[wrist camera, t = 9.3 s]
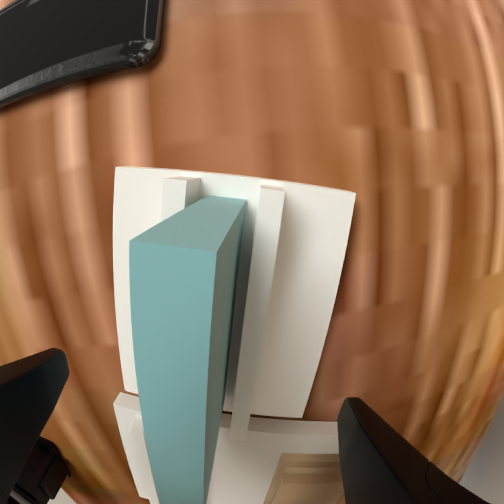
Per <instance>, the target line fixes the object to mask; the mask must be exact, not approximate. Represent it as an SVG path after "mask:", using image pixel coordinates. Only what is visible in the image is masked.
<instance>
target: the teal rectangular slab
mask: <svg viewBox="0 0 504 504" xmlns="http://www.w3.org/2000/svg"><path fill="white" fill-rule="evenodd" d="M245 207H246V199H238V198H230V197H221V196H211V195H208V196H206V197H204V198H203V199H201V200H199V201H197V202H195V203H194V204H192V205H190V206H188V207H186V208H185V209H183V210H181V211H179V212H177V213H176V214H174V215H172V216H170V217H169V218H167V219H165V220H163V221H162V222H160V223H158V224H156V225H155V226H153V227H151V228H150V229H148V230H146V231H145V232H143V233H141V234H140V235H138V236H136V237H135V238H133V239H131V240H130V241H129V280H130V307H131V325H132V339H133V351H134V361H135V371H136V379H137V387H138V395H139V402H140V409H141V416H142V422H143V428H144V433H145V439H146V444H147V450H148V455H149V459H150V464H151V469H152V473H153V478H154V482H155V486H156V490H157V494H158V498H159V502H160V504H206V503H207V497H208V491H209V485H210V480H211V474H212V468H213V463H214V457H215V451H216V445H217V440H218V434H219V428H220V423H221V417H222V411H223V405H224V400H225V392H226V382H227V372H228V362H229V353H230V343H231V333H232V324H233V315H234V305H235V296H236V287H237V278H238V269H239V260H240V251H241V242H242V233H243V224H244V216H245Z"/></svg>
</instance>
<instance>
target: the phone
mask: <svg viewBox="0 0 504 504" xmlns="http://www.w3.org/2000/svg"><path fill="white" fill-rule="evenodd" d="M164 2H165V0H16V1H14V2H12V3H11V4H9V5H7V6H6V7H4V8H3V9H1V10H0V108H2V107H4V106H6V105H9V104H11V103H14V102H16V101H19V100H21V99H24V98H26V97H29V96H32V95H35V94H37V93H40V92H43V91H46V90H49V89H52V88H55V87H58V86H62V85H65V84H68V83H72V82H75V81H79V80H82V79H86V78H90V77H94V76H98V75H102V74H106V73H111V72H115V71H120V70H125V69H130V68H135V67H139V66H142V65H144V64H146V63H147V62H149V61H150V60H151V59H152V58H153V57H154V56H155V55H156V53H157V51H158V50H159V47H160V43H161V32H162V21H163V11H164Z"/></svg>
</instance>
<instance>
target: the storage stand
mask: <svg viewBox="0 0 504 504" xmlns="http://www.w3.org/2000/svg"><path fill="white" fill-rule="evenodd" d="M208 195H211V196H221V197H230V198H238V199H246V207H245V216H244V224H243V233H242V242H241V251H240V260H239V269H238V278H237V287H236V296H235V305H234V315H233V324H232V333H231V343H230V353H229V362H228V372H227V382H226V392H225V400H224V405H223V411H230V412H232V419H231V427H230V435H229V439H234V440H242V441H246V435H247V430H248V424H249V419H250V414H256V415H266V416H278V417H293V418H302V416H303V413H304V410H305V407H306V404H307V401H308V397H309V394H310V391H311V388H312V384H313V381H314V378H315V374H316V371H317V367H318V364H319V360H320V357H321V353H322V350H323V346H324V342H325V338H326V335H327V331H328V327H329V323H330V319H331V315H332V311H333V307H334V302H335V298H336V294H337V290H338V285H339V281H340V276H341V271H342V267H343V262H344V257H345V252H346V247H347V242H348V237H349V231H350V226H351V220H352V214H353V208H354V202H355V196H356V193H354V192H351V191H347V190H341V189H335V188H329V187H323V186H317V185H310V184H304V183H297V182H290V181H283V180H275V179H268V178H260V177H251V176H243V175H234V174H224V173H214V172H203V171H192V170H179V169H166V168H150V167H131V166H124V167H116V169H115V185H114V207H113V271H114V293H115V309H116V322H117V332H118V342H119V351H120V359H121V367H122V374H123V381H124V387H125V391H128V392H132V393H136V394H138V387H137V379H136V371H135V361H134V351H133V339H132V325H131V307H130V280H129V241H130V240H131V239H133V238H135V237H136V236H138V235H140V234H141V233H143V232H145V231H146V230H148V229H150V228H151V227H153V226H155V225H156V224H158V223H160V222H162V221H163V220H165V219H167V218H169V217H170V216H172V215H174V214H176V213H177V212H179V211H181V210H183V209H185V208H186V207H188V206H190V205H192V204H194V203H195V202H197V201H199V200H201V199H203V198H204V197H206V196H208Z"/></svg>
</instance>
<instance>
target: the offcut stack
mask: <svg viewBox="0 0 504 504" xmlns="http://www.w3.org/2000/svg"><path fill="white" fill-rule="evenodd" d="M343 494H344V488H343V482H342V476H341V470H340V463H339V454H297V453H281V456H280V459H279V462H278V465H277V468H276V471H275V473H274V476H273V479H272V482H271V485H270V487H269V490H268V493H267V495H266V498H265V501H264V503H263V504H336V503H337V502H338V501H339V499H340V498H341V497H342V495H343Z"/></svg>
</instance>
